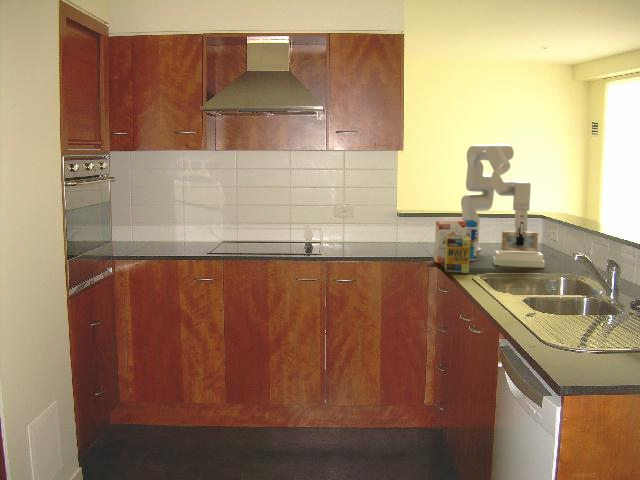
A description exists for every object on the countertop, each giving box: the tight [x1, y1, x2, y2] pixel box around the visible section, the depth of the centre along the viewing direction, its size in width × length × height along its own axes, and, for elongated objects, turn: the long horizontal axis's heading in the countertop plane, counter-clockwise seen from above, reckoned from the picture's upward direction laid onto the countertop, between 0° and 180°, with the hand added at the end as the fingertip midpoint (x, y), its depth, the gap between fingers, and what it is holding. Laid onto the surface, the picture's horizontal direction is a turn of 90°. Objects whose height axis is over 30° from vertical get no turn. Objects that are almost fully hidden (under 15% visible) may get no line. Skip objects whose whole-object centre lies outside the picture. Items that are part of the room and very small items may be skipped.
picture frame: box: [500, 230, 539, 252], centre depth 296 cm, size 16×4×9 cm, turn 84°
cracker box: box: [433, 220, 467, 264], centre depth 300 cm, size 14×6×21 cm, turn 96°
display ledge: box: [492, 250, 546, 269], centre depth 297 cm, size 23×10×6 cm, turn 79°
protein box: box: [444, 235, 470, 274], centre depth 282 cm, size 10×15×16 cm
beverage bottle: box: [464, 220, 479, 262], centre depth 310 cm, size 8×8×20 cm
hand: (519, 244), depth 296 cm, fingers closed on picture frame, 4 cm apart
